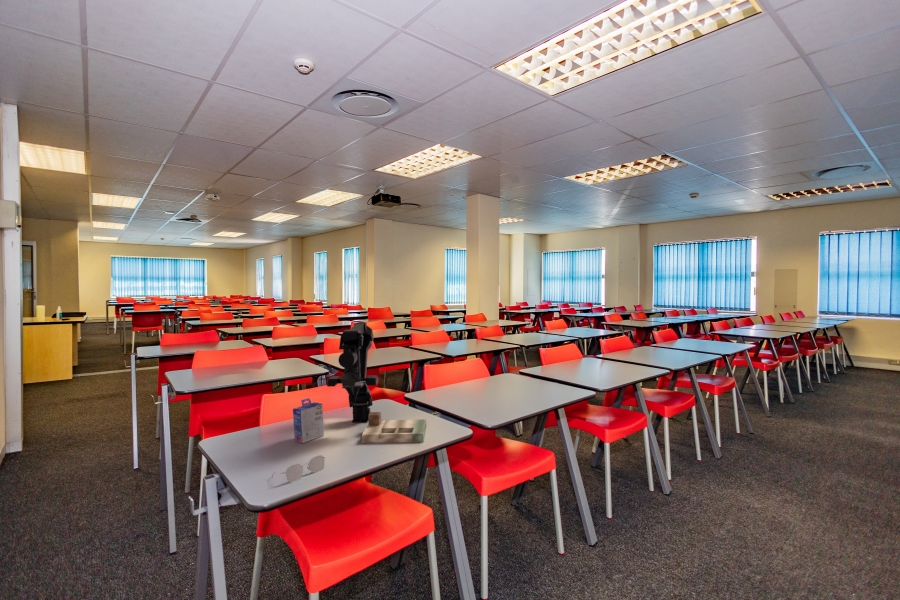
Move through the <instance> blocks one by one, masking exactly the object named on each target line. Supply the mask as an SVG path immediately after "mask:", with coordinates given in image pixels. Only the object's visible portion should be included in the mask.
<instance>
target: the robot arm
mask: <svg viewBox="0 0 900 600" xmlns="http://www.w3.org/2000/svg"><path fill="white" fill-rule="evenodd" d="M374 337H375V336H374V332H373V329H372V328H371V327H369V326H368V325H367V322H363V321H362V322H355V323H354V324H353V326H352V327H351V328H350V329H345V330H343V331H342V333H341V334H340V338H339V339H340V340H339V347H338V350H340V351H341V350H343V352H342V353H340V355H339V357H338V364H339V365H340V367H342V368H343V370H344V371H343V373H342V375H341V376H339V375H338V376H336V375H332V376H331V377H329V378H327V380H326V387H336V386H337V385H338V384H341V389H345V391H346V392H347V394H348V403H349V405H348V406H349V408H352V420H351V423H369V418H368V415H369V414H370V412H371V408H370V407H372V406H373V397H372V395H371V392H370V389H369V387H370V386H371V387H373V386H377V385H378V384H379V376H378V375H367V368H368V354H369V350H370V349H371V347H372V344H373V342H374Z"/></svg>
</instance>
